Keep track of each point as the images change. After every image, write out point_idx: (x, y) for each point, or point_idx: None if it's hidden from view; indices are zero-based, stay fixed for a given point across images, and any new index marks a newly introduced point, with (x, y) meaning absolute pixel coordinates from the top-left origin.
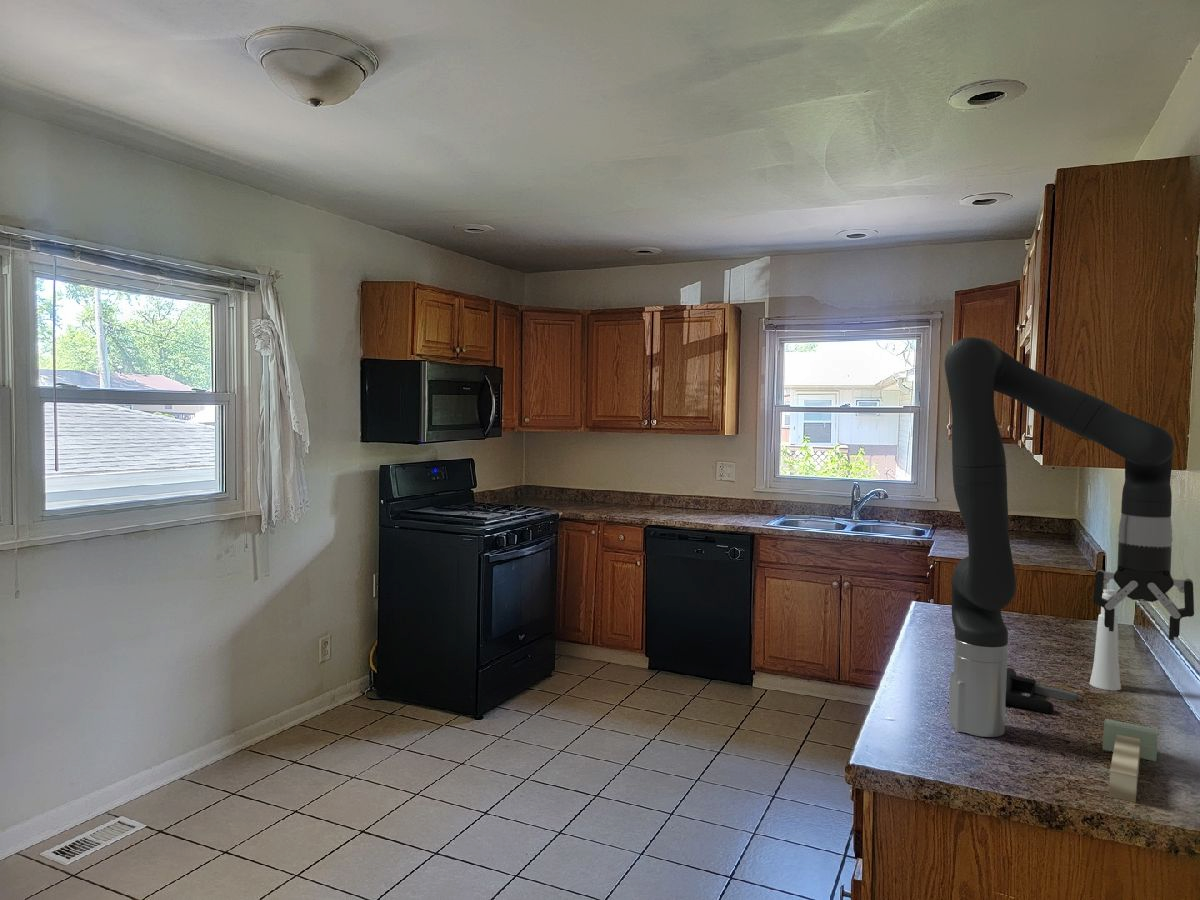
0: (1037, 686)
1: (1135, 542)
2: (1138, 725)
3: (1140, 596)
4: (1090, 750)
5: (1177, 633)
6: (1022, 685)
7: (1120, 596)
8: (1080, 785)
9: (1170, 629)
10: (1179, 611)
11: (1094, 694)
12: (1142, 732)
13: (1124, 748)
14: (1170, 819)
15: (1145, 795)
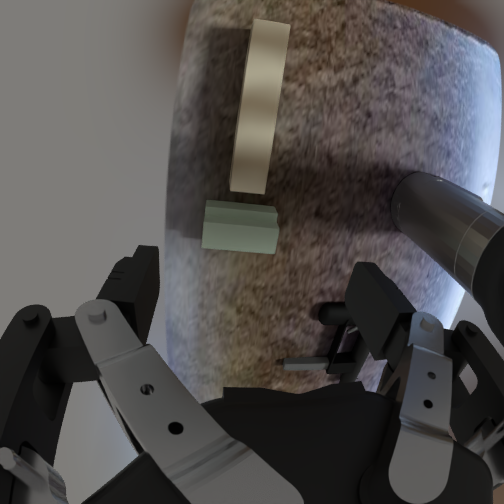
0: (326, 363)
1: None
2: (228, 249)
3: (319, 409)
4: (290, 194)
5: (121, 265)
6: (342, 359)
7: (432, 365)
8: (315, 53)
9: (143, 266)
10: (78, 342)
11: (260, 384)
12: (224, 223)
13: (259, 129)
14: (213, 3)
15: (234, 59)
